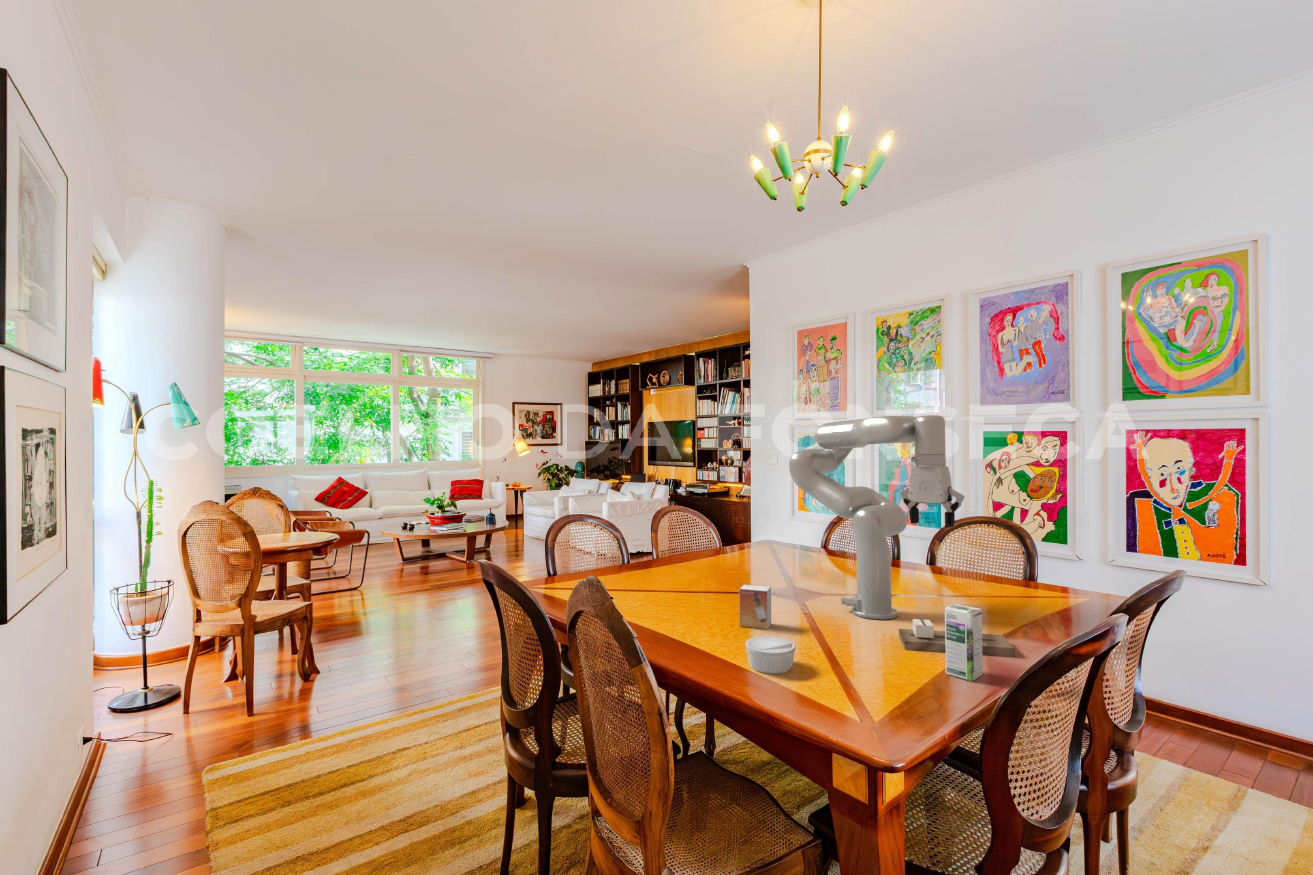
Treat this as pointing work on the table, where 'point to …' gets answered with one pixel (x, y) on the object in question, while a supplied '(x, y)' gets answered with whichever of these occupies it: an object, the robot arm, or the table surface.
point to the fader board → (990, 646)
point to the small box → (755, 606)
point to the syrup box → (963, 641)
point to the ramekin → (770, 654)
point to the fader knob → (923, 628)
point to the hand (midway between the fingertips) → (931, 524)
